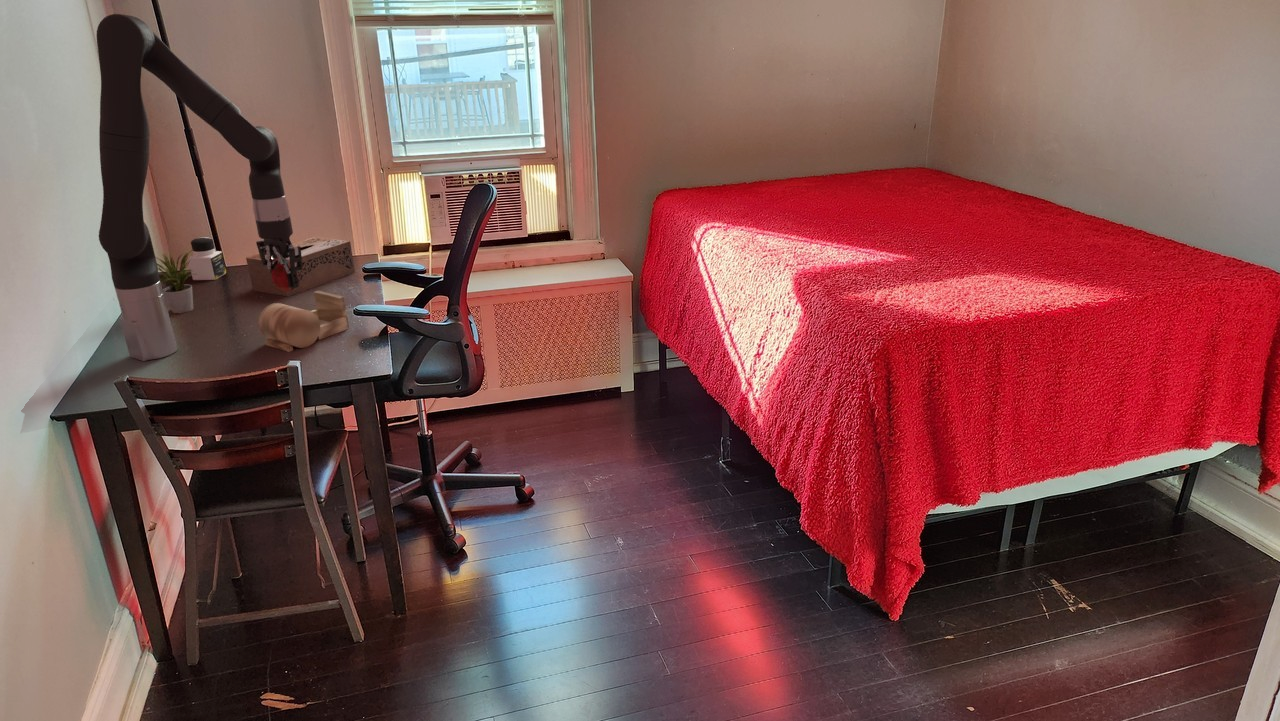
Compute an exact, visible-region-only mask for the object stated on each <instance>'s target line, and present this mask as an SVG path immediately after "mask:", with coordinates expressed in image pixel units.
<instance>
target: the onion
mask: <svg viewBox="0 0 1280 721" xmlns="http://www.w3.org/2000/svg"><path fill="white" fill-rule="evenodd" d="M288 265H289V264H288ZM289 268H290V265H289ZM297 277H298V274H297ZM271 278H272V281H273V283H274V284H275V286H276V287H278V288H279V289H282V290H284V291H286V292H287V291H290V290H291V288H289V284H288V279H287V272H286V270H285V268H284V266H283V265H281V263H280V261H279V263H278V264H277V265H276V266H275V267H274V269H273V271H272V274H271Z"/></svg>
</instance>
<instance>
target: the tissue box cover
mask: <svg viewBox="0 0 1280 721" xmlns="http://www.w3.org/2000/svg"><path fill="white" fill-rule="evenodd" d="M292 245H293V246H300V247H301V256H302V270H299V271H297V274H298V282H299V286H298V287H296V288H291V290H290V291H287V292H286V291H284V290H282V289H279V288H278V287H276V286H275V284H273V282H272V278H271V273H270V269H268V267H267V266H264V265H263V264H262V261H261V257H260V254H259V253H257V254H254V255H251V256H247V257H245V261H246V265H247V270H248V274H249V278H250V284H251V288H252V291H255V292H261V293H267V294H272V295H276V294H277V296H282V295H283V296H282V297H287V296H288V297H290V296H294V295H295V294H298V293H302V292H305V291H306V290H307V291H308V290H310V289H312V288H315V287H319V286H321V285H324V284H326V283H329V282H331V281H335V280H337V279H339V278H343V277H346V276H348V275H351V274H354V273H356V269H355V261H354V256H353V251H352V245H351V241H350V240H344V239H343V240H342V239H338V238H337V239H336V238H329V237H322V236H321V237H320V236H313V237H311V238H307V239H304V240H301V241H297V242H294V243H292ZM265 258H266V255H265ZM288 259H289V257H288V258H287V259H284V260H288ZM274 262H275V261H274ZM295 263H296V265H297V262H295ZM288 264H289V265H290V263H288Z"/></svg>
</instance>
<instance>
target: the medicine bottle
mask: <svg viewBox="0 0 1280 721" xmlns="http://www.w3.org/2000/svg"><path fill="white" fill-rule="evenodd" d="M190 244H191V245H190V246H191V250H193V251H192V253H193V254H192V255H191V256H190V255H189V256H188V258H187V261H188V262H189V261H190V262H189V264H188V265H189V267H190V268H189V269H190V270H192V271H193V272H192V271H190V273H191V274H193V275H191V277H192V280H193V281H216V280H218V279H219V278H221V277H222V276H225V275H226V274H227V269H226V268H227V267H226V265H225V260H224V257H223V256H224V255H223V252H222V251H221V250H220V251H219V250H216V248H215V243H214V239H212V237H208V236H207V237H206V236H204V237H203V236H202V237H197V238H193V239H192V240H191V241H190ZM191 258H192V259H191ZM190 259H191V260H190ZM196 274H197V275H196Z"/></svg>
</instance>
